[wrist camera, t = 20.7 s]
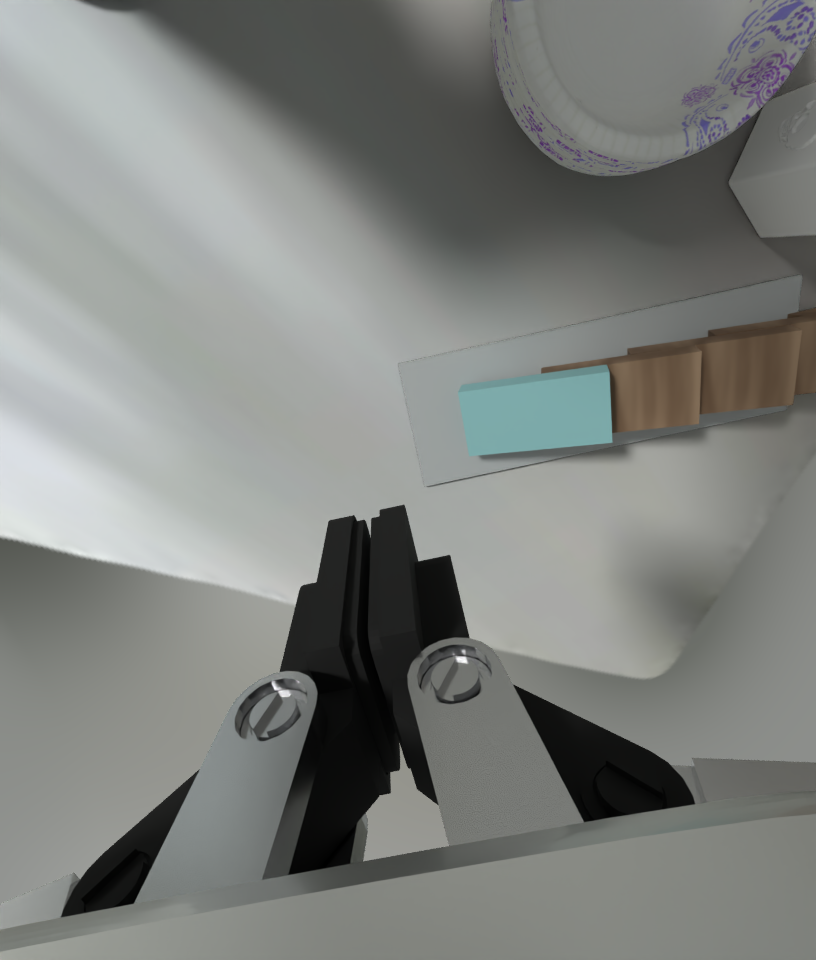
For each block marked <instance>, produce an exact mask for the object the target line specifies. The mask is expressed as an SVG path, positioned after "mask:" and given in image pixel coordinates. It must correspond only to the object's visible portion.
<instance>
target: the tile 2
mask: <svg viewBox="0 0 816 960" xmlns="http://www.w3.org/2000/svg"><path fill="white" fill-rule="evenodd" d="M701 358H702V351H701V350H699V349H698V348H697V347H696V346H695V345H692V346H686V347H679V348H672V349H665V350H659V351H652V352H645V353H638V354H631V355H625V356H618V357H611V358H604V359H597V360H591V361H584V362H577V363H570V364H564V365H557V366H550V367H543V368H541V374H543V373H550V372H557V371H564V370H571V369H578V368H585V367H593V366H600V365H607V367H608V369H609V373H610V396H611V420H612V433H618V432H627V431H637V430H647V429H656V428H666V427H675V426H685V425H695V424H699V412H700V385H701Z"/></svg>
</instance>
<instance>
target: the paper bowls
mask: <svg viewBox="0 0 816 960" xmlns="http://www.w3.org/2000/svg"><path fill="white" fill-rule="evenodd" d="M490 26H491V42H492V54H493V59H494V65H495V71H496V74H497V77H498V81H499V84H500V88H501V92H502V93H503V96H504V99H505V101H506V102H507V105H508V107H509V109H510V110H511V112H512V114H513V116H514V118H515V120H516V121H517V123H518V124H519V126H520V127H521V128H522V130H523V131H524V132H525V134H526V135H527V136H528V137H529V139H530V140H531V141H532V142H533V143H534V144H535V145H536V146H537V147H538V148H539V149H540V150H541V151H542V152H543V153H544V154H546V155H547V156H548V157H549V158H551V159H552V160H554V161H555V162H556V163H558V164H559V165H561V166H564V167H566V168H568V169H571V170H574V171H578V172H581V173H585V174H589V175H597V176H621V175H629V174H635V173H638V172H642V171H647V170H651V169H655V168H658V167H660V166H663V165H666V164H669V163H672V162H674V161H676V160H679V159H682V158H686V157H689V156H691V155H693V154H696V153H698V152H700V151H702V150H704V149H706V148H708V147H710V146H712V145H713V144H715V143H717V142H718V141H720V140H722V139H724V138H725V137H727V136H728V135H730V134H731V133H732V132H734V131H735V130H736V129H738V128H739V127H740V126H742V125H743V124H744V123H745V122H747V121H748V120H749V119H750V118H751V117H752V116H753V115H754V114H756V113H757V112H758V111H759V110H760V109H761V108H762V107H763V106H764V105H765V104H766V103H767V102H768V101H769V100H770V98H771V97H772V96H773V95H774V94H775V93H776V91H777V90H778V89H779V88H780V87H781V86H782V84H783V83H784V82H785V81H786V79H787V78H788V77H789V75H790V73H791V72H792V70H793V69H794V68H795V66H796V65H797V63H798V62H799V60H800V59H801V57H802V55H803V54H804V52H805V50H806V49H807V47H808V46H809V44H810V42H811V40H812V38H813V36H814V34H815V32H816V0H492V3H491V19H490Z"/></svg>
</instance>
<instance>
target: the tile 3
mask: <svg viewBox="0 0 816 960" xmlns="http://www.w3.org/2000/svg"><path fill="white" fill-rule="evenodd" d="M801 335H802V330H801V329H798V328H796V327H794V326H792V325H786V326H779V327H772V328H765V329H758V330H751V331H745V332H738V333H731V334H724V335H717V336H710V337H703V338H696V339H689V340H682V341H675V342H669V343H662V344H655V345H648V346H641V347H634V348H627V355H631V354H638V353H645V352H652V351H659V350H665V349H672V348H679V347H686V346H692V345H695V346H696V347H697V348H698V349H699V350H701V351H702V358H701V385H700V412H699V414H709V413H719V412H728V411H738V410H748V409H758V408H768V407H778V406H787V405H793V400H794V392H795V384H796V376H797V367H798V359H799V351H800V343H801Z"/></svg>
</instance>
